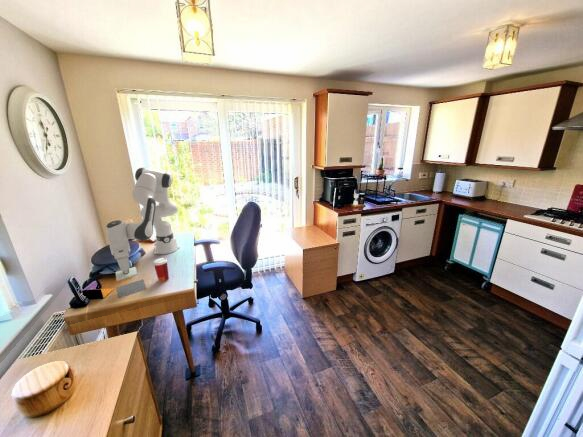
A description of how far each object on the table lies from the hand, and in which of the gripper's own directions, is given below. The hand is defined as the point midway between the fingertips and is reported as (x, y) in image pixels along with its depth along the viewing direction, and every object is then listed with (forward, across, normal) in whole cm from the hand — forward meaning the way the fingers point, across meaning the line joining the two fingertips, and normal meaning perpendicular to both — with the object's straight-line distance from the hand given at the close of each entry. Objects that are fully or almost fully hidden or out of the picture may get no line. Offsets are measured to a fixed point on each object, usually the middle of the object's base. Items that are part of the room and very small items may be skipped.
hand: (126, 271), depth 138 cm
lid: (+2, 0, 0) cm, 2 cm away
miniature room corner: (+12, -3, -14) cm, 19 cm away
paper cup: (+12, +3, +18) cm, 21 cm away
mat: (+12, +1, +1) cm, 12 cm away
